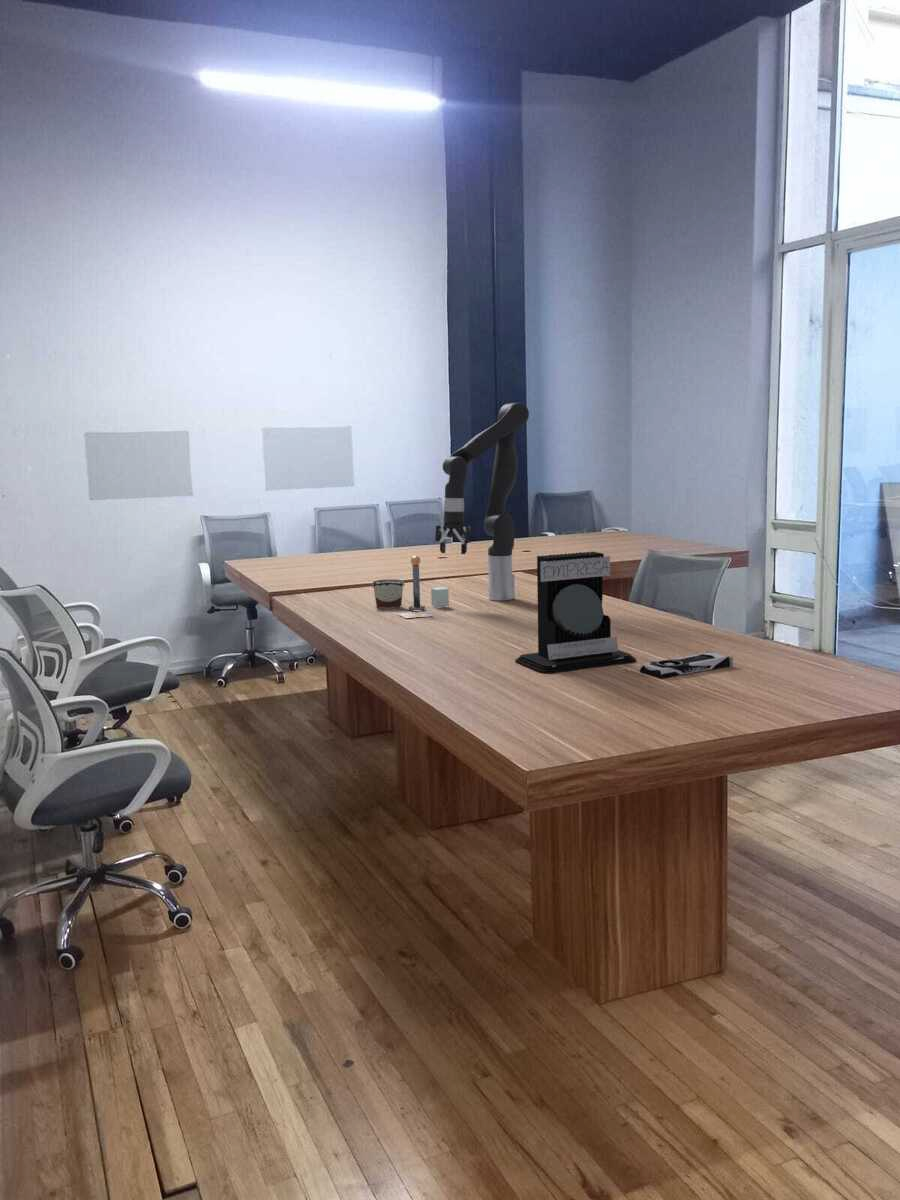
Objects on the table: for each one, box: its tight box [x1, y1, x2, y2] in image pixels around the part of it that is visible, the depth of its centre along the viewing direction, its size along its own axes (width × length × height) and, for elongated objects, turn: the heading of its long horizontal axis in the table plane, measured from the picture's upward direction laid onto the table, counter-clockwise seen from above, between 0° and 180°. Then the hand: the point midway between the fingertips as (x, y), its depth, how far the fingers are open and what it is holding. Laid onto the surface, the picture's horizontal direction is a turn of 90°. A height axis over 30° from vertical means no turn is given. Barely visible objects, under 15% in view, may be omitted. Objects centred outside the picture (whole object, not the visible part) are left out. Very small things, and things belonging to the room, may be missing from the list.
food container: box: [371, 578, 405, 608], centre depth 383 cm, size 12×6×10 cm, turn 84°
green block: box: [430, 586, 450, 609], centre depth 379 cm, size 5×5×7 cm
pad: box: [397, 611, 434, 619], centre depth 362 cm, size 10×10×1 cm
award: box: [514, 551, 637, 674], centre depth 282 cm, size 30×19×30 cm, turn 114°
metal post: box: [408, 555, 426, 611], centre depth 373 cm, size 6×6×20 cm
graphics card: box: [639, 650, 734, 680], centre depth 272 cm, size 10×3×25 cm
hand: (453, 553), depth 382 cm, fingers open, 8 cm apart
